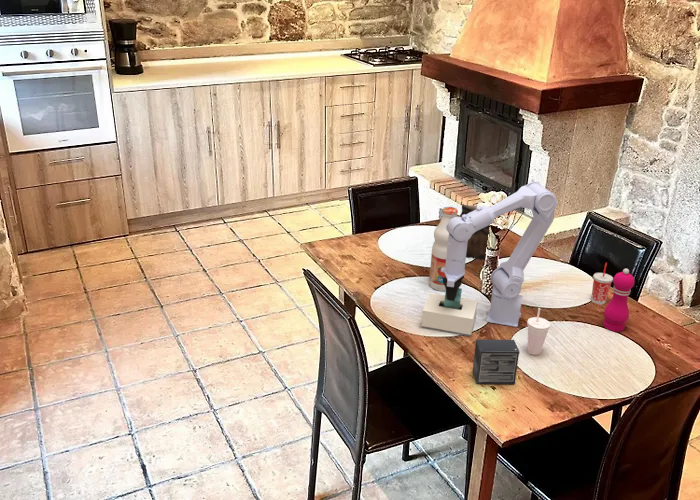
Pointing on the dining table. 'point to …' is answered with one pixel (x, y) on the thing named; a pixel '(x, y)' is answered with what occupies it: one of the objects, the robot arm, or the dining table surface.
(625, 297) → the pepper mill
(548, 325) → the smoothie
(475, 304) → the money box
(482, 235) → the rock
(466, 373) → the dining table surface
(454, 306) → the block
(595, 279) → the beverage cup
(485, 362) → the small box
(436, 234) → the fruit juice
